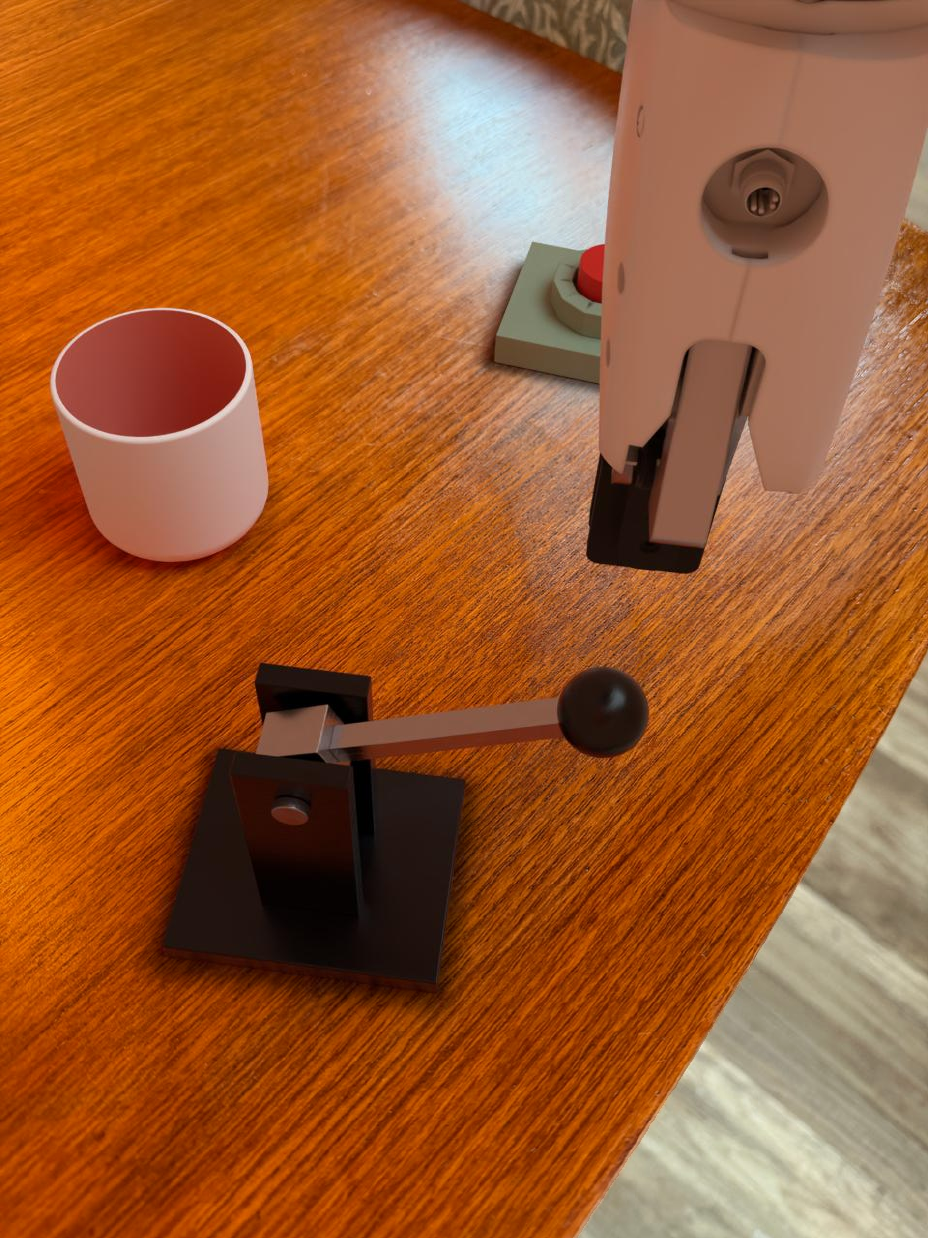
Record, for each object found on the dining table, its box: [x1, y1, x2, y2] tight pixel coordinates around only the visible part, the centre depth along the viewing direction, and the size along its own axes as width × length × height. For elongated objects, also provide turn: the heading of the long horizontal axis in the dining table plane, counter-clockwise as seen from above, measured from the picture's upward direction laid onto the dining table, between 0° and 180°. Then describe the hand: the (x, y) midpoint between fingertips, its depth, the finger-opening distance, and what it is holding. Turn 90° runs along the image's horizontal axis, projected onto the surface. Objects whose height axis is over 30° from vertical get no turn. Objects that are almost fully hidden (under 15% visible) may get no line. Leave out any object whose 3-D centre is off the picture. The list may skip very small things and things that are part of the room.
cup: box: [49, 307, 269, 563], centre depth 64 cm, size 10×10×10 cm
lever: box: [255, 666, 650, 766], centre depth 44 cm, size 15×3×3 cm, turn 83°
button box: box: [493, 241, 602, 385], centre depth 77 cm, size 12×10×4 cm
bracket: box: [161, 662, 467, 993], centre depth 50 cm, size 12×10×13 cm
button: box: [577, 243, 605, 304], centre depth 75 cm, size 4×4×2 cm
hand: (641, 545), depth 35 cm, fingers closed
